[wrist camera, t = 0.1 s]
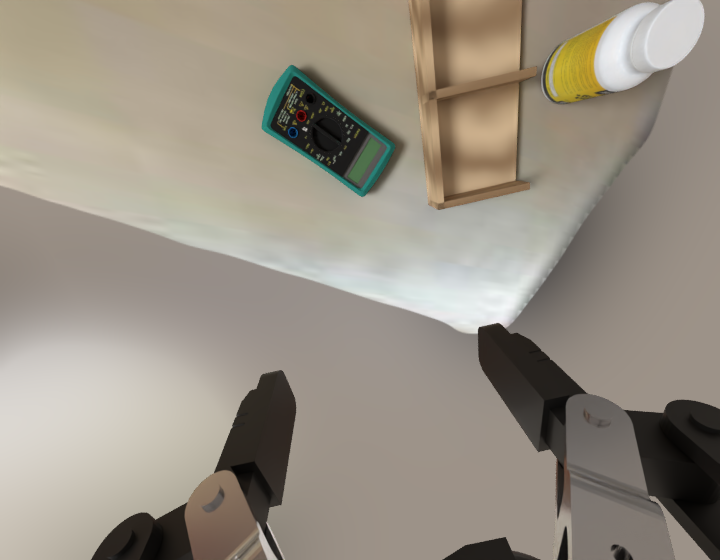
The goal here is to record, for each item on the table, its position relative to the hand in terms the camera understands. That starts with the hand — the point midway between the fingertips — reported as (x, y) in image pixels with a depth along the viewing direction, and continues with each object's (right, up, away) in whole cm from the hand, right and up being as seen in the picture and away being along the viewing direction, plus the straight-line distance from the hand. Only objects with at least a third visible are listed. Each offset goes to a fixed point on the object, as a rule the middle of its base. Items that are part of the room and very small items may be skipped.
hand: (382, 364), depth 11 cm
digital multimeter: (-5, +21, +23) cm, 31 cm away
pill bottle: (+24, +28, +22) cm, 43 cm away
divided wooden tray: (+12, +26, +21) cm, 36 cm away
